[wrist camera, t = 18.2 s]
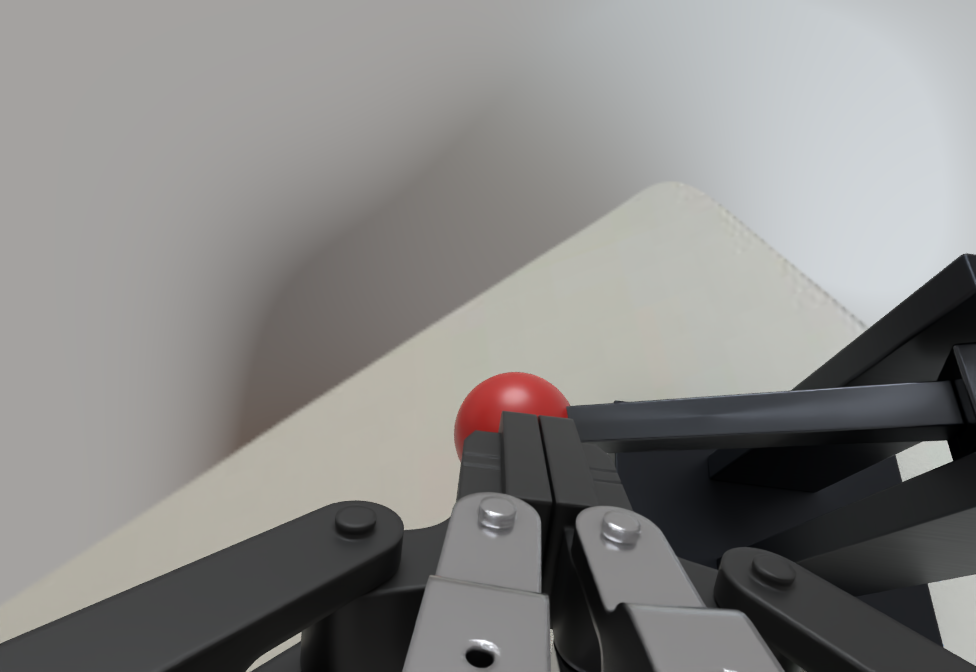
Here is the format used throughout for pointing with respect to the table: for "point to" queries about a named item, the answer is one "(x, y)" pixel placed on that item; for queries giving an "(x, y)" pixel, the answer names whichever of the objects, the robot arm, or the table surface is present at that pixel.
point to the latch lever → (749, 414)
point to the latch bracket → (837, 478)
